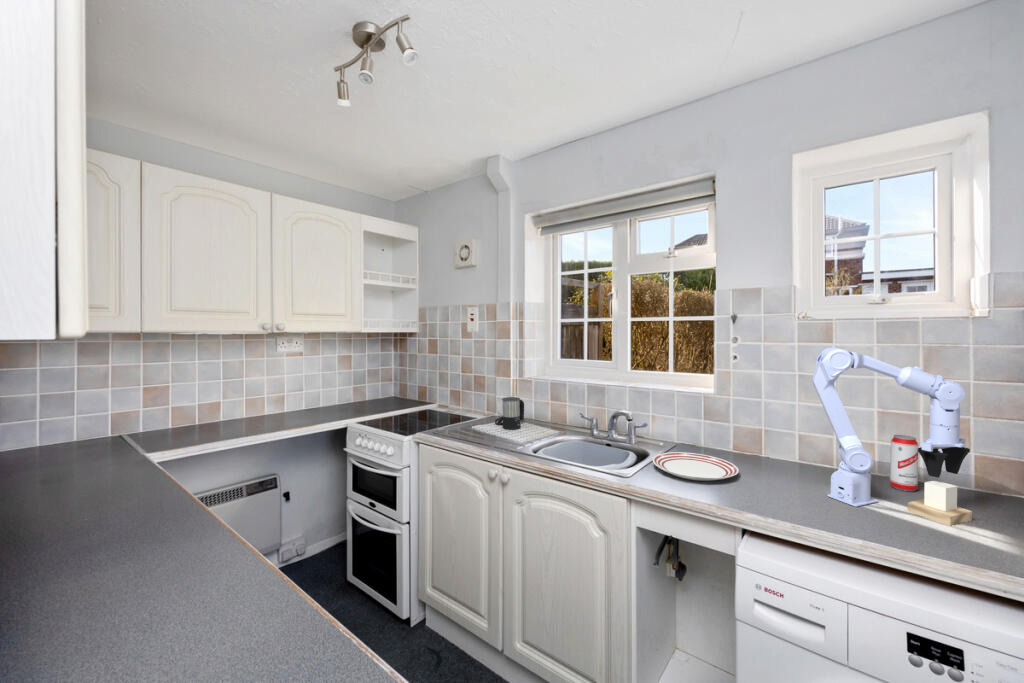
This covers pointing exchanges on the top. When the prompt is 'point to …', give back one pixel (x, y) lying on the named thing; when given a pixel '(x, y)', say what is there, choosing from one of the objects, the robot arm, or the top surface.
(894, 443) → the beer can
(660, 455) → the dinner plate
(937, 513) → the oak block
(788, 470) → the top surface
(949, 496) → the white block
